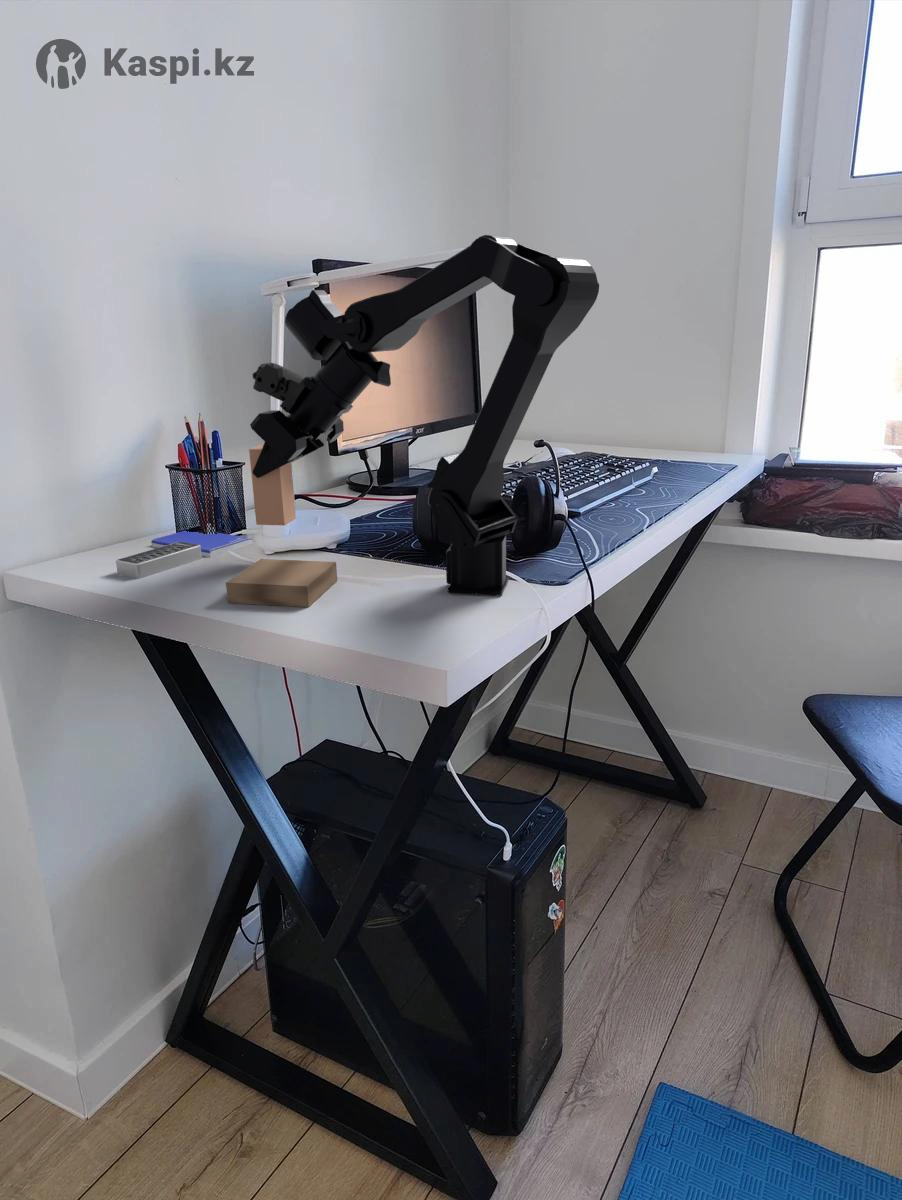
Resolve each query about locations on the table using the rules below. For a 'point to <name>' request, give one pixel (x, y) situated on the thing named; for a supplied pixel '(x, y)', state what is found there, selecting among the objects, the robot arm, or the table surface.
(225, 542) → the hard drive
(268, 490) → the block
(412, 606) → the table surface
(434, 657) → the table surface
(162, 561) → the multiport hub
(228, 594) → the plinth
